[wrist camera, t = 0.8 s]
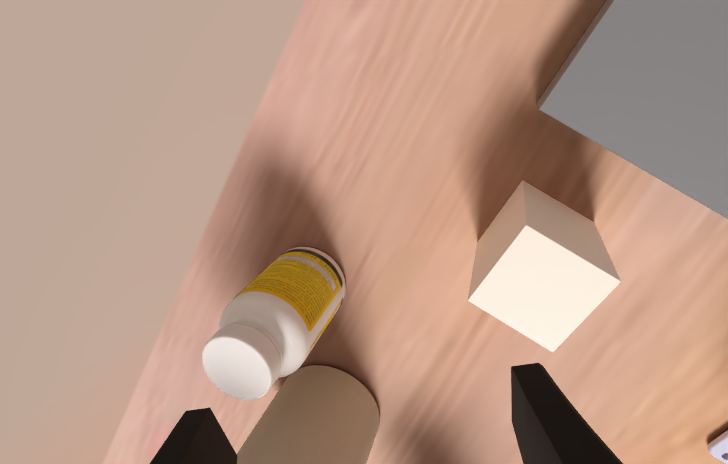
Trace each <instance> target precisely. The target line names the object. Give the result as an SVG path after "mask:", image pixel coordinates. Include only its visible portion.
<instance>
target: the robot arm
mask: <svg viewBox="0 0 728 464" xmlns="http://www.w3.org/2000/svg"><path fill="white" fill-rule="evenodd" d="M511 387H512V423H513V427H514V431H515V434H516V438H517V442H518V446H519V449H520V453H521V456H522V460H523V463H524V464H623V463H622V462H621V461H620V460H619V459H618V458H617V457H616V456H615V454H614V453H613V452H612V451H611V450H610V449H609V448H608V446H607V445H606V444H605V443H604V442H603V441H602V440H601V439H600V437H599V436H598V435H597V434H596V433H595V432H594V431H593V429H592V428H591V427H590V426H589V425H588V424H587V422H586V421H585V420H584V419H583V418H582V416H581V415H580V414H579V413H578V411H577V410H576V409H575V408H574V407H573V405H572V404H571V403H570V402H569V400H568V399H567V398H566V396H565V395H564V394H563V393H562V391H561V390H560V389H559V387H558V386H557V385H556V383H555V382H554V381H553V379H552V378H551V377H550V375H549V374H548V372H547V371H546V370H545V368H544V367H543V366H542V365H541V364H539V363H534V364H527V365H519V366H512V367H511ZM707 448H708V450H709V452H710V454H711V455H712V456H714V457H715V458H717V459H718V460H720V461H722V462H723V463H725V464H728V454H726V455H723V454H725V453H728V430H727V431H726V432H724V433H723V434H722V435H720V436H719V437H717V438H716V439H715V440H713V441H712V442H710V443H709V444H708V447H707ZM150 464H237V455H236V453H235V451H234V449H233V447H232V446H231V444H230V442H229V440H228V439H227V437H226V435H225V433H224V432H223V430H222V428H221V426H220V425H219V423H218V421H217V419H216V418H215V416H214V414H213V412H212V410H211V409H210V408H205V409H197V410H190V411H186V412H185V413H184V414H183V416H182V417H181V419H180V420H179V422H178V423H177V424H176V426H175V427H174V429H173V430H172V432H171V433H170V435H169V436H168V438H167V439H166V441H165V442H164V444H163V445H162V447H161V448H160V449H159V451H158V452H157V454H156V455H155V457H154V458H153V460H152V461H151V463H150Z"/></svg>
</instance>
